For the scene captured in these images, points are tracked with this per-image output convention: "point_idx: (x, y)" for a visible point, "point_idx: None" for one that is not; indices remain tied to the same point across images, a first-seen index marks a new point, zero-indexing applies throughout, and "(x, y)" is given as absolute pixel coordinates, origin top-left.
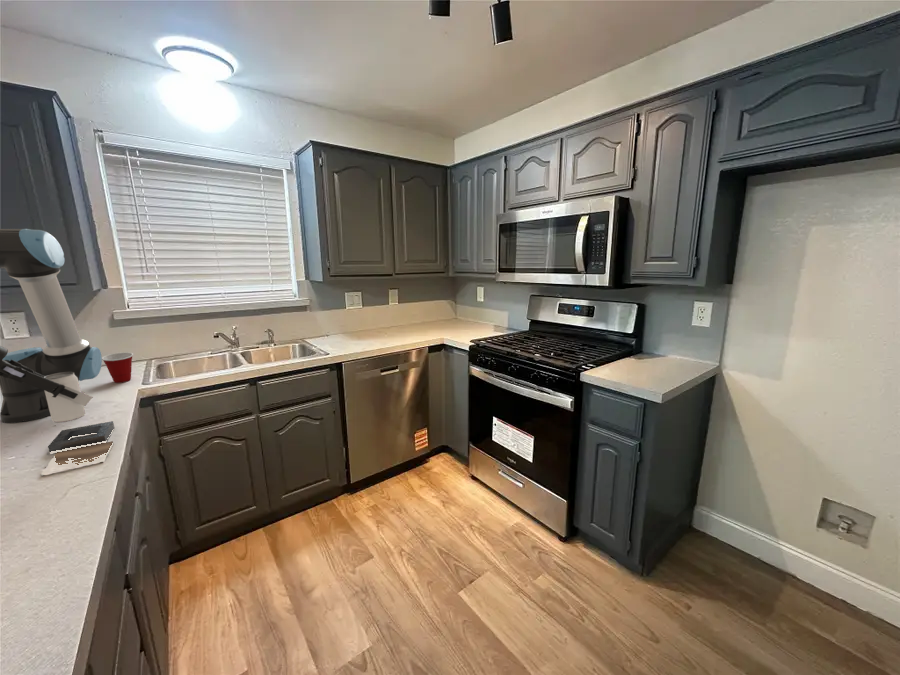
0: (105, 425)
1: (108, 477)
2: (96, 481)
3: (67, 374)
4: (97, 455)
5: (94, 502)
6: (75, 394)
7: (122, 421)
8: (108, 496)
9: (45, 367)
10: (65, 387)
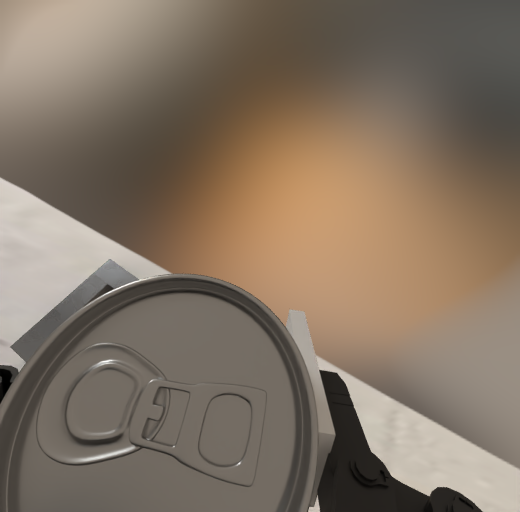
0: (118, 280)
1: (397, 411)
2: (397, 437)
3: (174, 329)
4: None
5: (510, 493)
6: (343, 389)
7: (97, 241)
8: (500, 460)
9: None
10: (330, 436)
